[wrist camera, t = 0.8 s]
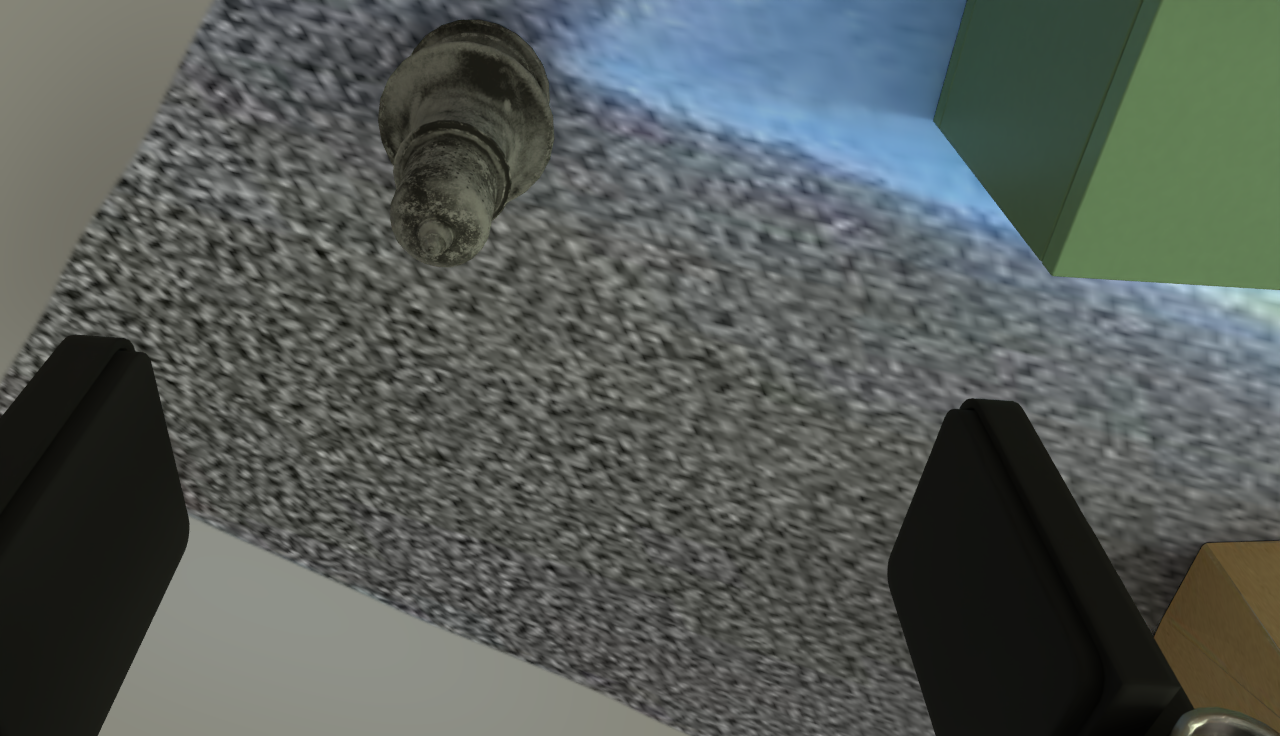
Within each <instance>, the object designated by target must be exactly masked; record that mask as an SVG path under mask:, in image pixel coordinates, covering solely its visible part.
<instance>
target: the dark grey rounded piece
mask: <svg viewBox="0 0 1280 736" xmlns="http://www.w3.org/2000/svg"><path fill="white" fill-rule="evenodd" d="M549 102H550V97H549V82H548V79H547V76H546V73H545V70H544V67H543V64H542V63H541V61H540V60H539V58H538V57H537V55H536V54H535V52H534V51H533V49H532V48H531V47H530V46H529V45H528V44H527V43H526V42H525V41H524V40H523V39H522V38H520V37H519V36H518V35H517V34H516V33H514V32H512V31H510V30H508V29H506V28H505V27H503V26H501V25H499V24H495V23H491V22H487V21H483V20H458V21H455V22H452V23H448V24H445V25H442V26H440V27H438V28H437V29H435V30H434V31H432V32H431V33H429V34H428V35H426V36H425V37H424V39H423V40H422V41H421V42H420V43H419V45H418V46H417V47H416V48H415V49H414V51H413V53H412V55H411V56H410V57H408V58H407V59H405V60H404V61H403V62H402V63H401V64H400V65H399V67H398V68H397V69H396V70H395V71H394V73H393V74H392V75H391V76H390V77H389V79H388V82H387V84H386V87H385V89H384V91H383V94H382V96H381V98H380V107H379V117H378V123H379V128H380V134H381V140H382V143H383V146H384V148H385V150H386V152H387V154H388V156H389V159H390V161H391V163H392V164H393V165H394V170H393V174H394V179H395V185H396V188H397V189H396V192H395V195H394V197H393V200H392V202H391V210H390V220H391V225H392V231H393V233H394V235H395V237H396V239H397V241H398V243H399V244H400V245H401V246H402V248H403V249H404V250H405V251H406V252H407V253H408V254H410V255H411V256H412V257H414V258H415V259H416V260H419V261H421V262H423V263H425V264H427V265H432V266H437V267H453V266H457V265H460V264H464V263H465V262H467V261H469V260H471V259H472V258H474V256H475V255H476V254H477V253H478V252H479V251H480V250H481V249H482V248H483V246H484V244H485V242H486V241H487V239H488V237H489V232H490V227H491V222H492V221H493V220H494V219H495V218H496V217H497V216H498V215H499V214H500V213H501V212H502V210H503V209H504V207H505V205H506V203H507V202H509V201H511V200H513V199H514V198H516V197H518V196H520V195H521V194H523V193H525V192H526V191H527V190H528V189H529V188H530V187H531V186H532V185H533V184H534V183H535V182H536V181H537V180H538V179H539V178H540V176H541V175H542V173H543V171H544V169H545V167H546V165H547V163H548V162H549V160H550V156H551V151H552V146H553V142H554V126H553V115H552V112H551V109H550V106H549Z"/></svg>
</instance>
